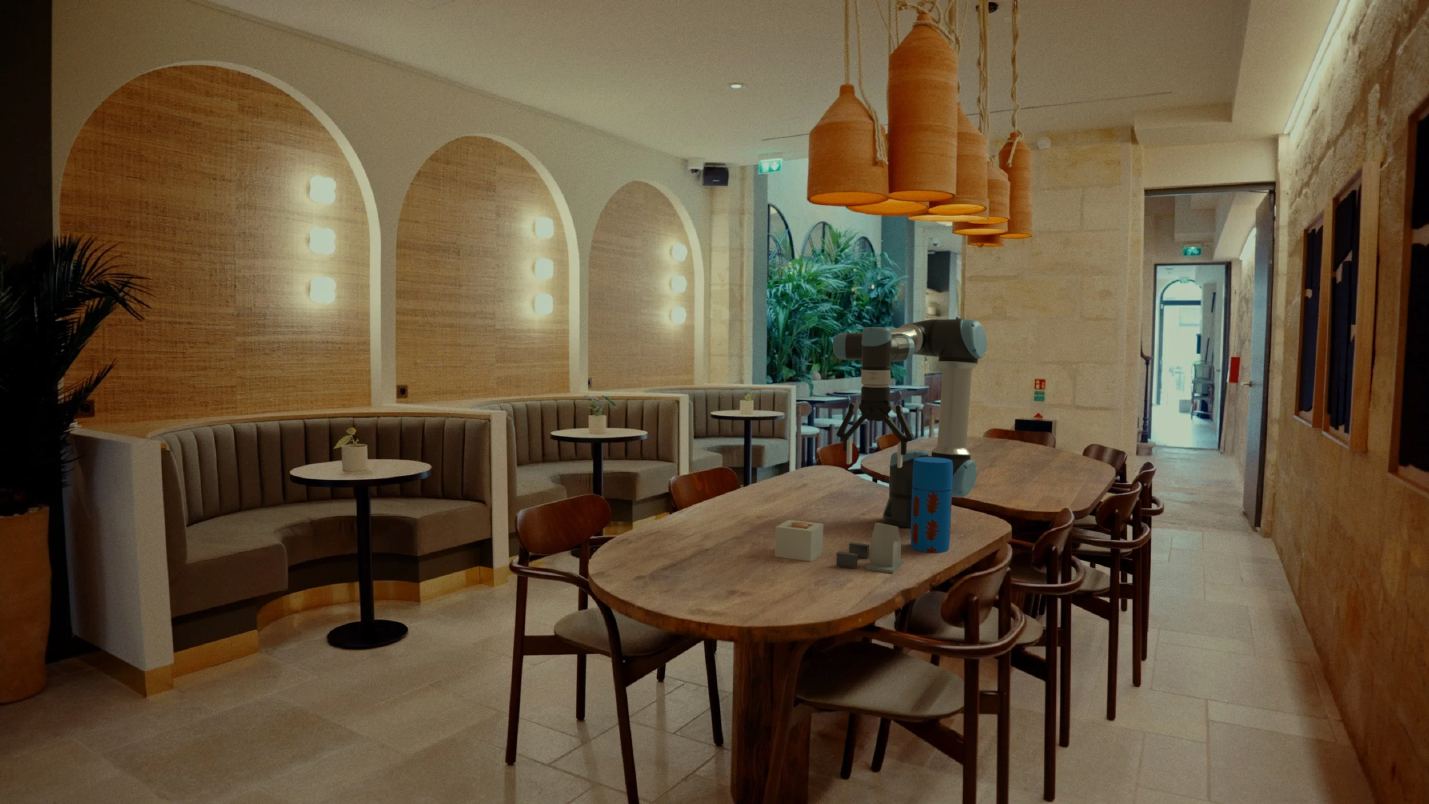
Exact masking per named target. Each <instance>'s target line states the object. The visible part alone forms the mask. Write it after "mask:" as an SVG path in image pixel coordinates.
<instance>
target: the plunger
mask: <svg viewBox="0 0 1429 804" xmlns="http://www.w3.org/2000/svg"><path fill="white" fill-rule="evenodd" d="M805 522H806V521H803V522H793V523H792V526H791V527H795V528H803V529H807V528H809V527H811V526H808V523H805Z"/></svg>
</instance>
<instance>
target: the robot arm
mask: <svg viewBox="0 0 1429 804" xmlns="http://www.w3.org/2000/svg"><path fill="white" fill-rule="evenodd" d="M987 345H988V344H987V335H986V331H985V329H984V326H983V325H982V323H981V322H980V321H978V320H976V319H969V318H968V319H966V318H957V319H955V318H953V319H946V318H945V319H943V318H942V319H941V318H940V319H939V318H937V319H936V318H933V319H932V318H931V319H926V320H925V319H923V320H921V321H915V322H911V323H904V324H902V325H900V326H899V327H897V328H890V327H886V326H883V327H881V326H877V327H876V326H874V327H873V326H871V327H869V326H866V327H864V328H863V330H862V332H855V333H854V332H853V333H852V332H841V333H838V334H836V335H835V336H834V339H833V341H832V350H833V351H832V352H833V354H834V356H835V357H836V358H837V359H838V360H845V361H861V371H860V372H861V373H860V375H861V377H860V378H861V380H860V381H861V382H860V383H861V385H863V386H861V388H860V403H855V402H851V403H849V404H848V410H847V413H846V414H845V417H844V419H843V420H842V422H841V424H840V427H839V428H838V430H837V432H836V437H838V438H841V439H842V441H843V442H842V444H843V446H842V449H843V452H846V465H851V464H852V463H853V438H850V437H852V435H853V434H854V433H855V432H856V431H857V430H858V428H860V426H861V425H862V424H863V423H864V422H865V421H868V422H872V421H875V422H882V421H883V422H884V423H885V424H886V425H887V426H888V428H889V429H890V430H891V431H892V432H893V434H894V435H895V436H896V438H897V439H898V440H899V442H897V451H896V452H893V453H892V454H891V455H890V460H889V461H890V462H889V465H888V466H889V485H888V489H889V490H888V492H889V493H888V499H887V502H886V505H885V508H884V510H883V514H882V523H883V524H886V525H891V526H896V527H898V528H899V527H900V528H911V510H912V482H913V462H914V458H919V457H935V458H945V459H950V460H952V462H953V479H952V498H965V497H966V496H968V495H969V494H970V493H971V491H972V490H973V488H974V486H975V483H976V480H977V476H978V468H977V467H978V466H977V464H976V462H975V461H974V460H972V459H971V458H972V457H971V452H970V451H969V450H968V449H967V441H968V440H967V439H968V427H969V415H970V413H969V412H970V399H971V387H972V375H973V374H972V373H973V370H974V368H976V367H977V366H978V362H979V359H982V358H983V357H984V356H985V355H986V351H987V349H988V348H987ZM913 355H917V356H918V355H919V356H925V357H926V356H927V357H936V358H938V361H937V362H938V364H939V365H940V366H941V367H942V376H941V391H940V392H941V393H940V402H939V403H940V404H939V416H938V430H937V443H936V446H935V447H934V448H933V449H931V455H930V453H929V450H926V449H910V450H907V448H908V446H907V445H908V442H912V441H913V440H914V439H915V436H914V433H913V432H912V430H911V427H910V426H909V423H908V420H907V419H906V416H905V415H904V412H903V405H902V404H897V405H891V388H890V386H889V385H891V363H895V362H900V363H902V362H904V361H908V360H909V359H911V358H912V356H913ZM858 410H859V411H860V412H861V415H860V416H859V418H858V419H857V420H856V421H855V423H854V424H853V425H851V427H850V428H849V429H848V430H847V431H846V429H847V427H848V425H849V423H850V421H851V420H852V419H853V416H854V414H855V412H857V411H858ZM891 411H892V412H893V413H894V414H896V418H897V420H898V422H899V423H900V426H901V428H902V430H903V432H904V433H903V432H902V430H901V429H900V428H899V427H898V425H897V424H896V423H895V422H894V420H893V419H892V417H891V416H890V415H889V414H890V412H891Z"/></svg>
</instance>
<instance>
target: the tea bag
mask: <svg viewBox="0 0 1429 804" xmlns="http://www.w3.org/2000/svg"><path fill="white" fill-rule="evenodd" d="M901 555H902V539H901V535H900V529H899V526H893V525H889V524H886V523H879V522H875V523H874V527H873V530H872V533H871V537H870V547H869V563H870V562H874V563H878V564H882V565H886V566H891V567H894V566H897V565H900V559H902V558H901Z"/></svg>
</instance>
